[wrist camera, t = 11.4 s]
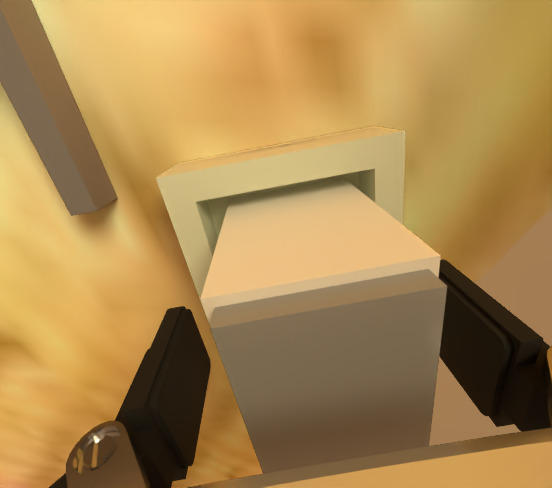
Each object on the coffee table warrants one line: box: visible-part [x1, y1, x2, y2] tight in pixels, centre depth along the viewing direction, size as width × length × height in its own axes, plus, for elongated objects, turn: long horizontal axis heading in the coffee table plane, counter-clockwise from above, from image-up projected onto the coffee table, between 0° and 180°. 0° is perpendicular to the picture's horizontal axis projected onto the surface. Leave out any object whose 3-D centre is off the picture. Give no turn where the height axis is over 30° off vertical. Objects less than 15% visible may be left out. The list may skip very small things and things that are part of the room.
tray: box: [156, 126, 406, 326], centre depth 15 cm, size 10×11×3 cm
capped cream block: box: [200, 178, 447, 474], centre depth 11 cm, size 6×8×8 cm
